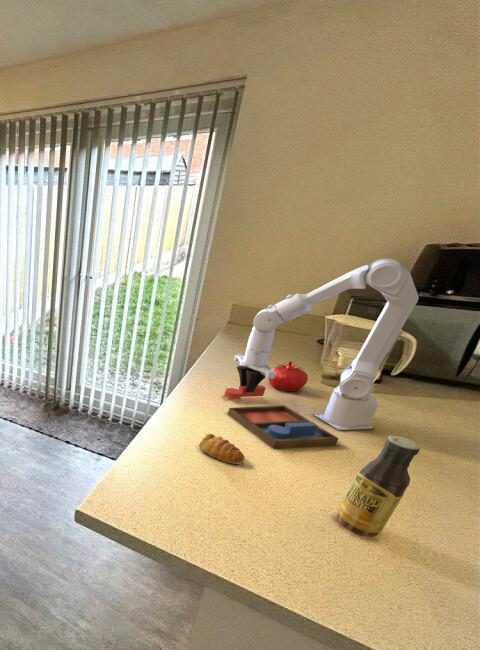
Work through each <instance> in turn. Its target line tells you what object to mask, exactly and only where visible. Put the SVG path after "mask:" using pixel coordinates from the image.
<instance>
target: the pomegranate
mask: <svg viewBox="0 0 480 650" xmlns="http://www.w3.org/2000/svg"><path fill="white" fill-rule="evenodd" d="M287 363H288V364H287ZM287 363H286V362H284V363H283V364H277V366H274V367H273V368H271V369H272V370H273V371H274V372H276V374H275V377H274V378H269V379H268V382H269V385H271V387H272V388H274V389H276V390H279V391H288V392H296V391H300V390H301V389H302V388H304V386H305V385H306V384H307V383H308V380H309V378H308V373H307V372H306V371H305V369H304V368H303V367H300V366H298V367H295V366H296V364H293V361H290V360H288V361H287Z"/></svg>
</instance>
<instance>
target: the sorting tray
mask: <svg viewBox="0 0 480 650" xmlns="http://www.w3.org/2000/svg"><path fill="white" fill-rule="evenodd" d="M227 415H229V416H230V417H231V418H232V419H233V420H235V421H237V422H238V423H239V424H240V425H242V426H243V427H244V428H246V429H247V430H248V431H249V432H251V433H252V434H254V435H255V436H256V437H257V438H258V439H260V440H261V441H263V442H264V443H265V444H267V445H268V446H269V447H270V448H272V449H284V448H287V449H288V448H305V447H306V448H307V447H324V446H325V447H327V446H337V444H338V441H339V440H340V439H339V437H337V436H336V435H334V434H333V433H331V432H329V431H328V430H326V429H325V428H323V427H321V426H319V425H318V427H317V429H316V432H315V435H308V436H288V438H287V439H276V438H273V437H272V436H270V435H269V434H268V433H267V431H268V428H269V426H270V425H279V426H282V427H285V424H286V423H300V422H312V421H311V420H309V419H308V418H306V417H304V416H303V415H301V414H299V413H298V412H297V411H294V410H293V409H291V408H290V407H288V406H286V405H284V404H282V405H281V404H280V405H263V406H261V405H260V406H238V407H237V406H236V407H229V408H228V412H227Z"/></svg>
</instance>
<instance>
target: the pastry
mask: <svg viewBox="0 0 480 650" xmlns="http://www.w3.org/2000/svg"><path fill="white" fill-rule="evenodd" d="M198 447H199V448H200V450H201V451H202V452H203V453H206V454H207V455H208V456H209V457H212V458H215V459H217V460H219V461H222V462H224V463H229V464H233V465H234V464H235V465H239V464H241V463H242V462H243V461H244V460H245V458H246V457H245V455H244V454H243V452H242V451H241V450H240V448H238V447H237V446H236V445H235V444H233V443H231V442H230V441H229V440H228V439H227V438H226V439H224V437H222V436H221V435H217V436H216V435H215V434H213V433H208V434H205V436H204V437H202V439H201V440H200V441H199V443H198Z"/></svg>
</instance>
